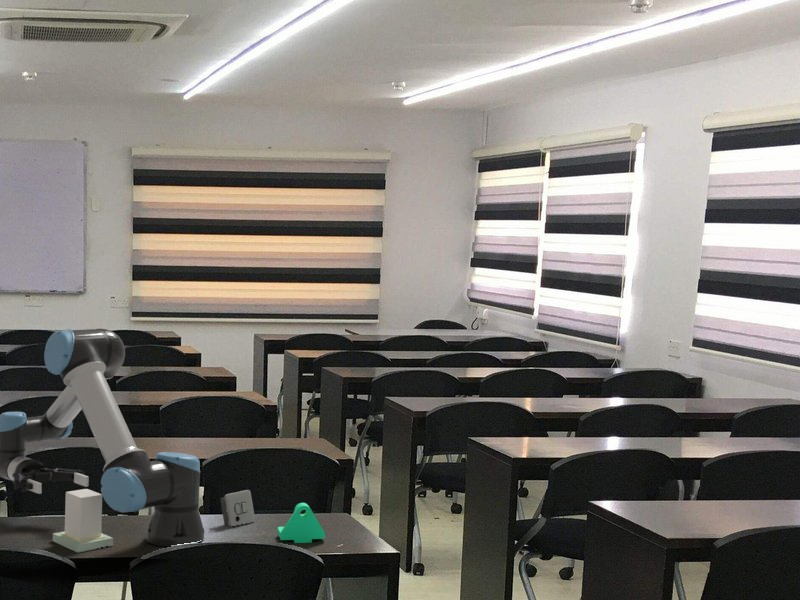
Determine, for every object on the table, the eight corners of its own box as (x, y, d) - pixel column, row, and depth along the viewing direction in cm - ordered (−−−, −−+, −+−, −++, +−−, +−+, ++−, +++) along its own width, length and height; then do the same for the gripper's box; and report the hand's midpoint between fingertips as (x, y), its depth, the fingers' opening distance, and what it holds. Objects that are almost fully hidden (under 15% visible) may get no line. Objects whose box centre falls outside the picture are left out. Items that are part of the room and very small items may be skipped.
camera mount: (319, 534, 279) (321, 498, 279) (324, 542, 272) (326, 505, 271) (276, 536, 276) (278, 499, 276) (280, 544, 269) (282, 506, 268)
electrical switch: (231, 528, 281) (230, 495, 281) (218, 526, 284) (217, 493, 285) (255, 522, 288) (254, 490, 289) (243, 520, 292) (242, 488, 292)
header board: (52, 541, 262) (53, 517, 262) (87, 534, 269) (88, 511, 269) (77, 552, 253) (78, 528, 253) (112, 545, 260) (113, 522, 260)
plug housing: (64, 533, 262) (65, 491, 261) (85, 529, 266) (86, 488, 266) (79, 540, 256) (81, 497, 256) (101, 536, 260) (102, 494, 260)
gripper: (67, 479, 293) (105, 492, 278) (-17, 491, 275) (19, 506, 260) (68, 453, 292) (106, 465, 278) (-17, 464, 274) (19, 477, 260)
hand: (64, 485), depth 269 cm, fingers open, 13 cm apart
